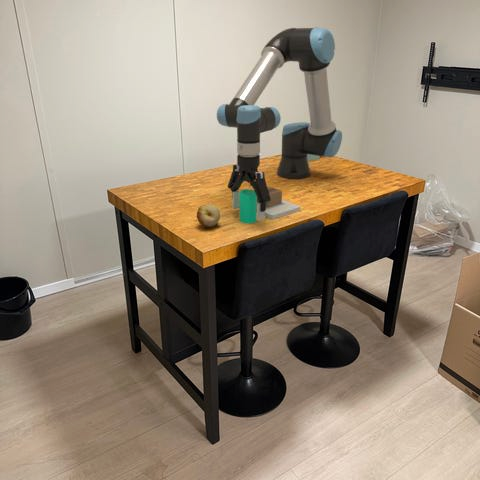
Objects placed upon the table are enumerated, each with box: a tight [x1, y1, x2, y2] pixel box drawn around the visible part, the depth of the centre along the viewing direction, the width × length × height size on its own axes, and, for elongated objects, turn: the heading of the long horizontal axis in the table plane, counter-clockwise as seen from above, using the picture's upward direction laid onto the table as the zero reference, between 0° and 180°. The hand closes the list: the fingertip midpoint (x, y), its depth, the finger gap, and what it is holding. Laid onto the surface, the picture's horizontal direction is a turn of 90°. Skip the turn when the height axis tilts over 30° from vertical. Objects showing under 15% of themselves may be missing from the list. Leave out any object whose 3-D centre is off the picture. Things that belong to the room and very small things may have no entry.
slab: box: [265, 199, 302, 220], centre depth 174 cm, size 20×14×2 cm
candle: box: [239, 187, 258, 224], centre depth 160 cm, size 6×6×12 cm
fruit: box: [196, 203, 221, 228], centre depth 156 cm, size 8×8×8 cm
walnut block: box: [257, 185, 283, 208], centre depth 172 cm, size 7×7×5 cm
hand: (248, 214), depth 162 cm, fingers open, 13 cm apart
